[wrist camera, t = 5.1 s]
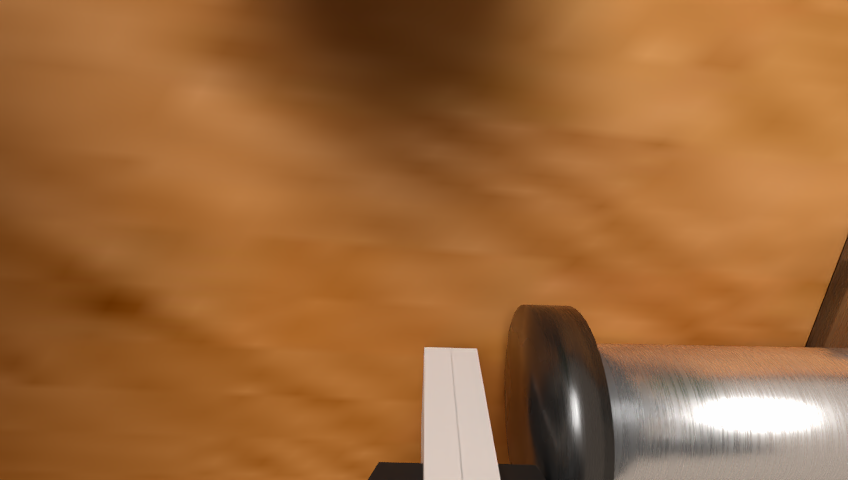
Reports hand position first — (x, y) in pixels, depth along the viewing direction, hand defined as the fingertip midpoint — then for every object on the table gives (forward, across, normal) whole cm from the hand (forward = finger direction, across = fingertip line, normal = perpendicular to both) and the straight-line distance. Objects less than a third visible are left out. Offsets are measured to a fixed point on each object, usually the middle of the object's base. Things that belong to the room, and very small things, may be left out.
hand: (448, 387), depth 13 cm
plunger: (+2, +10, 0) cm, 10 cm away
